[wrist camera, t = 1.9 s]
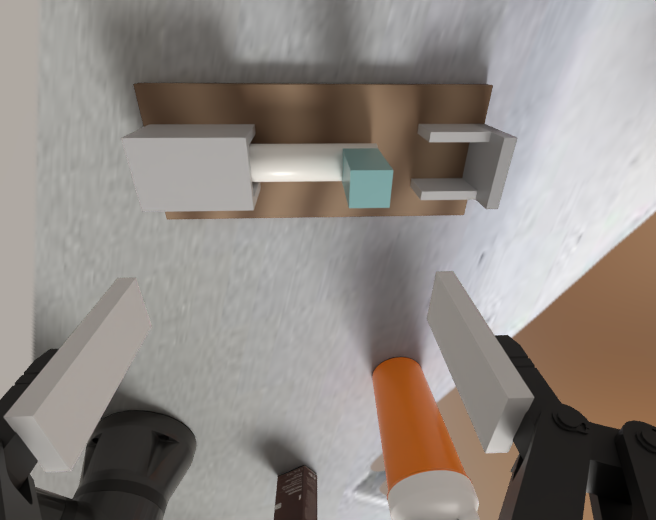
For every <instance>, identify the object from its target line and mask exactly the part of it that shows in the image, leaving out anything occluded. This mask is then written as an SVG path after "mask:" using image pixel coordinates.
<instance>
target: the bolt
mask: <svg viewBox="0 0 656 520" xmlns="http://www.w3.org/2000/svg"><path fill="white" fill-rule="evenodd" d="M248 148H249V157H250V166H251V176H252V182H304V181H342V184H343V188H344V192H345V195H346V199H347V203H348V207H349V208H390V198H391V189H392V179H393V169H392V167H391V166H390V165H389V163H388V162H387V160H386V159H385V158H384V156H383V155H382V153H381V152H380V151H379V149H378V146H377V144H376V143H334V144H249V146H248Z"/></svg>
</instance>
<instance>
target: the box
mask: <svg viewBox="0 0 656 520" xmlns="http://www.w3.org/2000/svg"><path fill="white" fill-rule="evenodd" d="M274 520H317V475H316V474H315V473H314V472H313V471H312V470H310V469H309V468H307V467H306V466H302V467H300V468H297V469H295V470H293V471H290V472H288V473H286V474H283V475H281V476H278V480H277V491H276V502H275V513H274Z"/></svg>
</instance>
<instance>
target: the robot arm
mask: <svg viewBox="0 0 656 520" xmlns="http://www.w3.org/2000/svg"><path fill="white" fill-rule="evenodd" d="M427 321H428V323H429V325H430V327H431V330H432V332H433V334H434V337H435V339H436V341H437V344H438V346H439V348H440V350H441V353H442V355H443V357H444V360H445V362H446V364H447V366H448V369H449V371H450V373H451V376H452V378H453V380H454V383H455V385H456V387H457V389H458V392H459V394H460V396H461V399H462V401H463V403H464V405H465V408H466V410H467V412H468V415H469V417H470V419H471V422H472V424H473V426H474V429H475V431H476V433H477V435H478V438H479V440H480V442H481V445H482V447H483V449H484V452H485V453H502V452H509V449H510V447H511V445H512V443H513V442H514V443H515V445H516V447H517V449H518V451H519V453H520V454H519V456H518V458H517V460H516V461H515V464H514V466H513V467H512V469H511V472H512V476H511V480H510V483H509V486H508V490H507V493H506V496H505V499H504V502H503V506H502V509H501V512H500V515H499V519H498V520H582V519H583V511H584V503H585V495H586V492H587V493H589V496H590V501H591V507H592V513H593V518H594V520H656V427H654V426H652V425H649V424H647V423H644V422H640V421H629V422H626V423H625V425H623V427H622V428H621V429H615V428H611V427H607V426H603V425H599V424H595V423H591V422H589V421H588V420H587V419H586V418H585V417H584V416H583V415H582V414H581V413H580V412H579V411H577V410H575V409H574V408H572V407H570V406H568V405H565V404H562V403H561V402H560V401H559V399H558V398H557V397H556V395H555V394H554V392H553V391H552V389H551V388H550V387H549V385H548V384H547V382H546V381H545V380H544V378H543V377H542V375H541V374H540V373H539V371H538V370H537V368H535V367H534V364H533V363H532V361H531V360H530V359H529V358H528V356H527V354H526V353H525V352H524V350H523V349H522V347H521V346H520V345H519V344H518V343H517V342H516V341H514V340H513V339H512V338H511V337H509V336H508V335H498V336H494V334H493V332H492V331H491V329H490V328H489V326H488V325H487V323H486V322H485V320H484V318H483V317H482V315H481V314H480V312H479V311H478V309H477V308H476V306H475V304H474V303H473V301H472V300H471V298H470V297H469V295H468V294H467V292H466V290H465V289H464V287H463V286H462V284H461V283H460V281H459V280H458V278H457V277H456V275H455V273H454V272H453V271H441V272H436V276H435V281H434V286H433V290H432V295H431V300H430V305H429V310H428V315H427ZM151 327H152V324H151V321H150V318H149V315H148V312H147V309H146V306H145V303H144V300H143V297H142V294H141V291H140V288H139V285H138V282H137V279H136V278H117V279H116V281H115V282H114V283H113V284H112V285H111V287H110V288H109V289H108V290H107V292H106V293H105V294H104V295H103V296H102V298H101V299H100V300H99V301H98V303H97V304H96V305H95V306H94V307H93V309H92V310H91V311H90V312H89V313H88V315H87V316H86V317H85V318H84V320H83V321H82V322H81V323H80V324H79V326H78V327H77V328H76V329H75V330H74V332H73V333H72V334H71V335H70V337H69V338H68V339H67V340H66V341H65V343H64V344H63V345H62V346H61V348H60V349H50V350H48V351H47V352H46V353H44V354H43V355H41V356H40V357H39V358H37V359H36V360H35V361H34V362H33V363H32V364H31V365H30V366H29V368H28V369H27V370H26V371H25V372H24V375H22V376H21V377H20V378H19V379H18V380H17V381H16V382H15V386H12V387H11V388H10V389H9V391H8V392H7V393H6V394H5V395H4V396H3V397H2V399H1V400H0V520H163V516H164V513H165V509H166V506H167V503H168V501H169V499H170V497H171V496H172V494H173V493H174V491H175V489H176V488H177V486H178V485H179V483H180V482H181V480H182V478H183V477H184V475H185V474H186V472H187V470H188V469H189V467H190V465H191V463H192V461H193V457H194V454H195V450H196V439H195V437H194V435H193V434H192V432H191V431H190V430H189V429H188V428H187V427H186V426H185V425H183V424H182V423H180V422H179V421H177V420H175V419H173V418H170V417H168V416H165V415H162V414H158V413H153V412H146V411H127V412H120V413H116V414H113V415H110V416H108V417H106V418H104V419H103V420H101V421H100V422H99V420H100V419H101V417H102V415H103V413H104V411H105V410H106V408H107V406H108V404H109V402H110V401H111V399H112V397H113V395H114V393H115V392H116V390H117V388H118V386H119V384H120V383H121V381H122V379H123V377H124V376H125V374H126V372H127V370H128V368H129V367H130V365H131V363H132V361H133V359H134V358H135V356H136V354H137V352H138V350H139V349H140V347H141V345H142V343H143V341H144V340H145V338H146V336H147V334H148V333H149V331H150V329H151ZM98 422H99V423H98ZM87 442H88V443H87ZM86 444H87V446H86V452H85V457H84V462H83V468H82V473H81V478H80V484H79V487H78V489H77V491H76V493H75V495H74V497H73V499H70V498H67V497H64V496H61V495H58V494H55V493H52V492H49V491H46V490H43V489H40V488H37V487H35V484H34V480H33V478H32V477H31V475H30V473H31V471H32V470H33V468H34V466H35V465H36V463H37V462H38V464H39V465H40V466H41V467H42V469H43V470H44V471H45V473H48V472H71V471H72V469H73V467H74V465H75V463H76V462H77V460H78V458H79V456H80V454H81V453H82V451H83V449H84V447H85V445H86Z"/></svg>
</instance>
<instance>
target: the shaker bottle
mask: <svg viewBox="0 0 656 520" xmlns="http://www.w3.org/2000/svg"><path fill="white" fill-rule="evenodd" d="M372 380H373V387H374V394H375V401H376V408H377V415H378V422H379V429H380V436H381V443H382V450H383V457H384V464H385V471H386V478H387V485H388V494H387V500H388V504H389V510H390V516H391V519H392V520H480V519H479V516H478V514H477V509H478V506H479V502H478V498H477V495H476V493H475V490H474V487H473V485H472V482H471V480H470V478H469V477H468V476H467V475H466V473H465V471H464V468H463V466H462V464H461V462H460V459H459V457H458V454H457V452H456V449H455V447H454V445H453V442H452V440H451V438H450V436H449V433H448V430H447V428H446V426H445V423H444V421H443V419H442V416H441V414H440V412H439V409H438V407H437V404H436V402H435V400H434V397H433V395H432V393H431V390H430V388H429V385H428V383H427V381H426V378H425V376H424V374H423V371H422V369H421V367H420V365H419V364H418V363H417V362H416V361H414V360H412V359H410V358H405V357H397V358H391V359H388V360H386V361H384V362H382V363H381V364H379V365H378V366H377V367H376V368H375V370H374V372H373V375H372Z"/></svg>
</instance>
